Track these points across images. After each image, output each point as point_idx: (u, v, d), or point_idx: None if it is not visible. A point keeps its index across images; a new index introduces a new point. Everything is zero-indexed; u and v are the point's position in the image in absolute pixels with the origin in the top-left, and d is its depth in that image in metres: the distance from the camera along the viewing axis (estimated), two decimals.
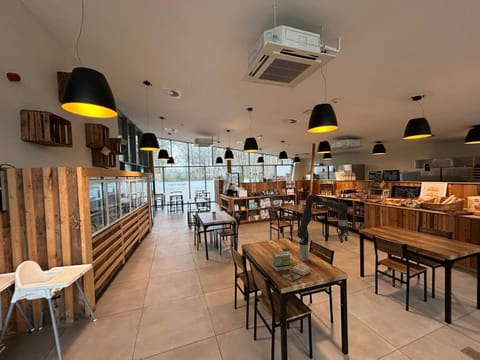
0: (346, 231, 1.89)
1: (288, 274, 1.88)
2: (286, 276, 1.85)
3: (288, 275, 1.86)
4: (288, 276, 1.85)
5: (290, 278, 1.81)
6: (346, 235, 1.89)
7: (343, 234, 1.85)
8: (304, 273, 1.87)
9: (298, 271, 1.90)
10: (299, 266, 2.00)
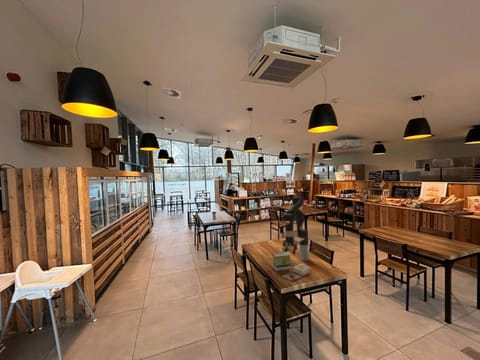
0: None
1: (288, 274, 1.88)
2: (286, 276, 1.85)
3: (288, 275, 1.86)
4: (288, 276, 1.85)
5: (290, 278, 1.81)
6: (288, 245, 1.88)
7: None
8: (304, 273, 1.87)
9: (298, 271, 1.90)
10: (299, 266, 2.00)
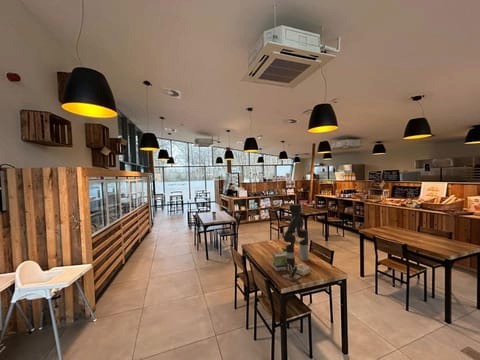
0: None
1: (288, 274, 1.88)
2: (286, 276, 1.85)
3: (288, 275, 1.86)
4: (288, 276, 1.85)
5: (290, 278, 1.81)
6: None
7: None
8: (304, 273, 1.87)
9: (298, 271, 1.90)
10: (299, 266, 2.00)
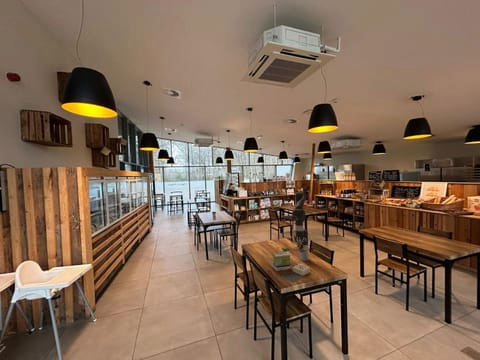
0: None
1: (297, 247, 1.97)
2: (295, 248, 1.94)
3: (297, 248, 1.95)
4: (297, 248, 1.93)
5: (299, 250, 1.90)
6: (299, 240, 1.96)
7: None
8: (304, 273, 1.87)
9: (298, 271, 1.90)
10: (299, 266, 2.00)
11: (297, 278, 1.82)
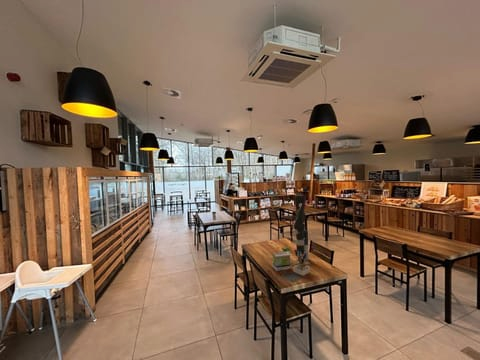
0: None
1: (298, 261, 1.97)
2: (296, 262, 1.94)
3: (298, 262, 1.95)
4: (298, 262, 1.93)
5: (300, 264, 1.90)
6: (300, 254, 1.95)
7: None
8: (304, 273, 1.87)
9: (298, 271, 1.90)
10: (299, 266, 2.00)
11: (297, 278, 1.82)
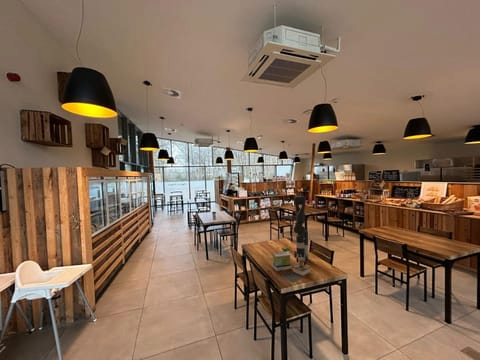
0: None
1: (298, 265, 1.97)
2: (296, 266, 1.94)
3: (298, 265, 1.95)
4: (298, 266, 1.93)
5: (300, 268, 1.90)
6: (299, 256, 1.97)
7: None
8: (304, 273, 1.87)
9: (298, 271, 1.90)
10: None
11: (297, 278, 1.82)
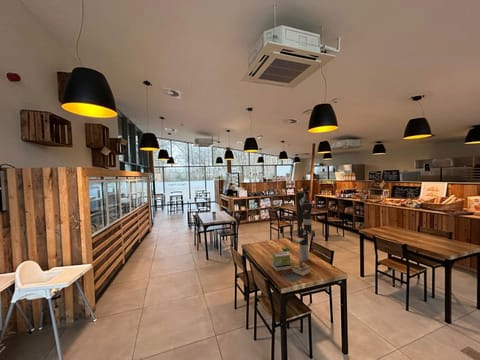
0: None
1: (298, 265, 1.97)
2: (296, 266, 1.94)
3: (298, 265, 1.95)
4: (298, 266, 1.93)
5: (300, 268, 1.90)
6: None
7: None
8: (304, 273, 1.87)
9: (298, 271, 1.90)
10: None
11: (297, 278, 1.82)
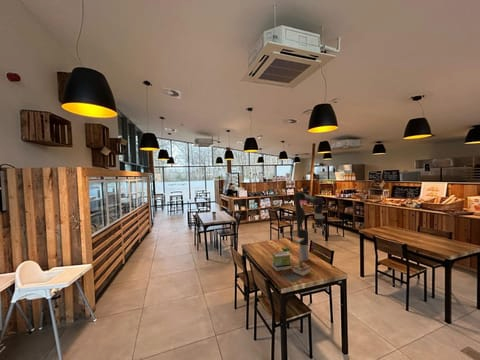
0: None
1: (298, 265, 1.97)
2: (296, 266, 1.94)
3: (298, 265, 1.95)
4: (298, 266, 1.93)
5: (300, 268, 1.90)
6: (316, 227, 2.04)
7: (322, 226, 2.00)
8: (304, 273, 1.87)
9: (298, 271, 1.90)
10: None
11: (297, 278, 1.82)
